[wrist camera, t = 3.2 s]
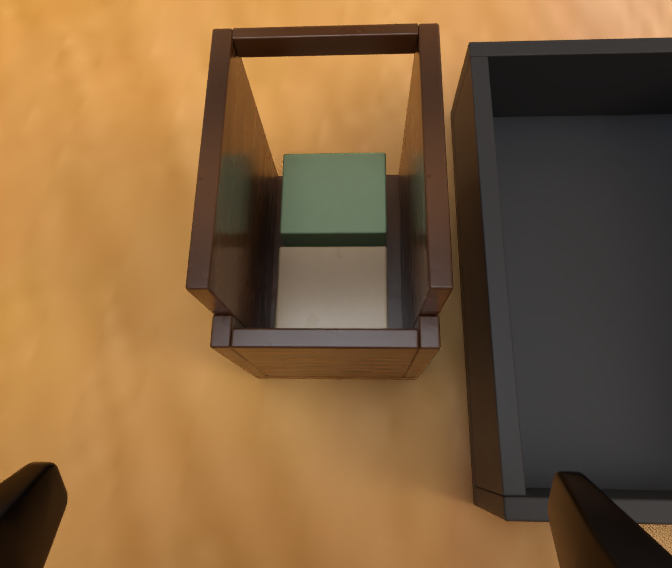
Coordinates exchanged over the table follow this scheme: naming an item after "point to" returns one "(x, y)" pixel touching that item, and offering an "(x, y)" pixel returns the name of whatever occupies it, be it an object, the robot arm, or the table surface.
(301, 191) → the sage block
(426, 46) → the brown wooden holder
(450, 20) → the table surface
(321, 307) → the birch block
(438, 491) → the table surface
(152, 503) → the table surface
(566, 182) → the bin
